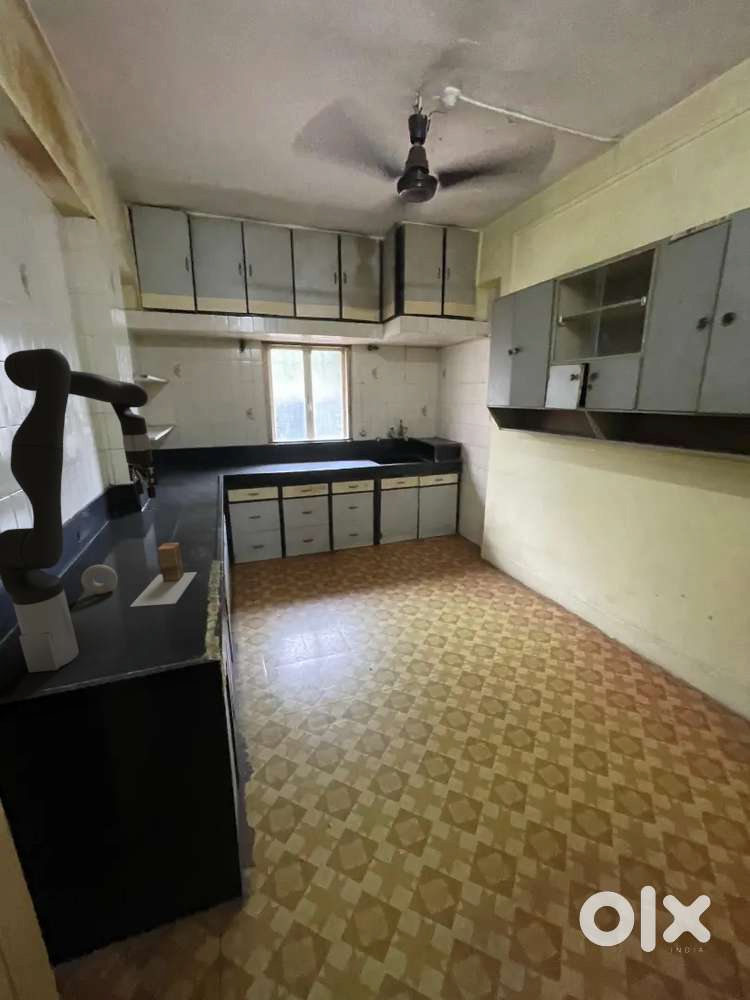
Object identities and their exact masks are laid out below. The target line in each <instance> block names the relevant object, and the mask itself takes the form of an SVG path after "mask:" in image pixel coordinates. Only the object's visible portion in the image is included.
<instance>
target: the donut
mask: <svg viewBox="0 0 750 1000" xmlns="http://www.w3.org/2000/svg"><path fill="white" fill-rule="evenodd" d="M96 576H97V577H98V576H101V577H103V578H104V579H105V580H104V582H103V583H100V582H99V583H98V582H97V581H95V577H96ZM118 578H119V577H118V574H117V572H116V571H115V570H114V569H113V568H112V567H110V566H109V565H105V564H95V565H91V566H89V567H88V568H86V569H85V570H84V571H83V572H82V575H81V577H80V579H81V580H80V583H81V584H82V587H83V588H84V589H85V590H86V591H87V592H89V593H91V594H95V595H103V594H108V593H109V592H111V591H113V590H114V588H115V587H117V584H118V582H119V581H118V580H119V579H118Z"/></svg>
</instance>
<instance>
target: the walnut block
mask: <svg viewBox="0 0 750 1000" xmlns="http://www.w3.org/2000/svg"><path fill="white" fill-rule="evenodd" d="M180 546H181V545H180V542H164V543H162V544H161V545H160V546H159V547H158V548H157V550H158V558H159V564H160V569H161V574H162V576H163V582H173V581H180V579H181V578H182V577H183V575H184V573H185V572H184V566H183V560H182V552H181V547H180Z"/></svg>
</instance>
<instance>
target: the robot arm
mask: <svg viewBox="0 0 750 1000" xmlns="http://www.w3.org/2000/svg"><path fill="white" fill-rule="evenodd" d="M3 367H4V372H5V374H6V377H7V378H8V380H10V382H11V383H12V384H14V385H15V386H16V387H18V388H19V389H22V390H26V391H32V392H35V398H34V401H33V404H32V407H31V408H30V409H31V410H30V411H29V412H28V414H27V415H26V416H25V418H24V420H23V421H22V423H21V424H20V425H19V427H18V428H17V430H16V432H15V433H14V435H13V438H12V440H11V448H10V449H11V451H10V471H11V473H12V476H13V478H14V480H15V481H16V483H17V484H18V485H19V487H20V488H21V489H22V491H23V492H24V494H25V495H26V497H27V499H29V502H30V505H31V508H32V519H33V521H32V522H33V524H32V525H33V526H32V527H27V528H25V527H24V528H23V527H22V528H9V529H5V530H3V531H2V532H0V579H1V583H2V587H3V589H4V590H5V592H6V593H7V594H8V595H9V596H10V597H11V599H12V603H13V607H14V612H15V614H16V619H17V622H18V626H19V629H20V633H21V635H20V636H19V641H20V645H21V648H22V649H21V650H22V653H23V656H24V660H25V664H26V667H27V670H28V673H38V672H49V671H51V670H52V671H57V670H59V669H60V668H62V667H63V666H65V665H66V664H69V663H70V662H72V661H73V660H74V659H76V658H77V656H78V655H79V652H80V651H79V647H78V641H77V638H76V634H75V630H74V626H73V625H74V624H73V622H72V617H71V613H70V609H69V604H68V600H67V595H66V592H65V588H64V584H63V581H62V579H61V577H59V576H57V575H54V574H50V573H47V572H45V571H43V570H45V569H51V568H54V567H55V566H56V565H57V564H58V563H59V562H60V560H61V558H62V555H63V551H64V532H63V531H64V530H63V519H62V518H63V516H62V479H63V478H62V477H63V466H64V435H65V423H66V422H65V421H66V413H67V405H68V400H69V395H73V396H77V397H79V396H80V397H83V398H87V399H88V398H89V399H91V400H96V401H101V402H104V403H109V404H110V405H111V406H112V409H113V411H114V412H115V415H116V417H117V419H118V422H119V424H120V428H121V433H122V443H123V449H124V455H125V460H126V463H127V469H128V475H129V480H130V482H132V484H133V485H134V488H135V494H136V495H138V496H140V495H144V493H145V491H144V486H143V484H144V485H145V487H146V492H147V498H148V499H155V498H156V497H157V493H156V489H155V487H156V486H159V485H158V484H159V483H158V477H157V471H156V468H155V467H154V466H152V467H151V466H150V463H152V462H153V461H154V459H153V453H152V447H151V441H150V437H149V434H148V429H147V422H146V419H145V417H144V416H142V415H140V414H136V413H134V412H133V411H132V409H131V408H142V407H144V406H145V405H147V403H148V399H149V396H148V393H147V391H146V389H145V388H144V387H143V386H141V385H139V384H137V383H134V382H128V381H121V380H114V379H113V378H109V377H107V376H104V375H100V374H96V373H92V372H84V371H77V370H76V371H75V370H71V366H70V364H69V361H68V360H67V357H66V356H65V355H64V354H63V353H62V352H60V351H59V350H57V349H54V348H35V349H27V350H26V349H25V350H18V351H14V352H12V353H9V354H8V355H7V356H6V358H5V359H4V364H3ZM52 671H51V672H52Z"/></svg>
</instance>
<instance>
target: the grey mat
mask: <svg viewBox="0 0 750 1000" xmlns="http://www.w3.org/2000/svg"><path fill="white" fill-rule="evenodd" d="M197 573H198V572H197V571H193V572H192V571H191V572H184V575H183V577H182V578H181V579H180V581H173V582H163V576H162V573H160V574H157V576H155V578H154V579H153V580H152V581H151V582H150V583H149V585H148V586H147V587H146V588H145V589H144V590H143V591H142V593H141V594H139V595H138V597H137V598H136V599H135V600H134V601H133V602H132V603H131V605H129V607H131V608H132V607H142V606H157V605H158V606H159V605H173V604H174V605H175V604H177V602H178V600H179V599H180V597H181V596H182V595H183V593H184V592H185V591H186V589H187V587H188V586H189V584H190V583H191V582H192V581H193V579H194V578H195V576H196V574H197Z"/></svg>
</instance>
